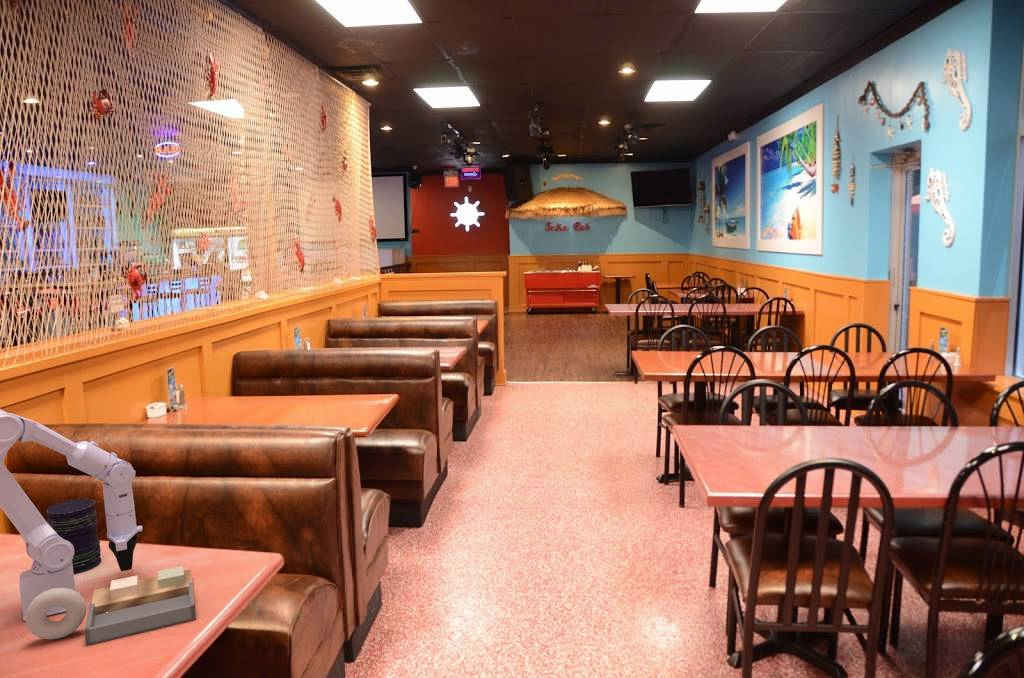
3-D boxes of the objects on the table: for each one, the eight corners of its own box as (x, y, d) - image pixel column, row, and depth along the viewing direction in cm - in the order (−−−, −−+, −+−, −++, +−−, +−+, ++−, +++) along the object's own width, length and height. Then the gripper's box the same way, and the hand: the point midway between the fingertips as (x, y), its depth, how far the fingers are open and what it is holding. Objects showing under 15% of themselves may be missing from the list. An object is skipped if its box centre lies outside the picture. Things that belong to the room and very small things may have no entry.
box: (86, 645, 134) (84, 630, 134) (91, 617, 145) (89, 604, 144) (196, 619, 142) (194, 605, 142) (193, 595, 153) (192, 581, 152)
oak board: (91, 617, 145) (90, 607, 145) (95, 598, 153) (94, 589, 153) (193, 594, 153) (192, 585, 153) (191, 577, 161) (190, 569, 161)
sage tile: (159, 588, 152) (158, 580, 152) (158, 579, 156) (158, 570, 156) (184, 583, 154) (183, 574, 154) (183, 574, 158) (183, 565, 158)
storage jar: (49, 579, 163) (42, 516, 161) (57, 562, 172) (50, 503, 170) (99, 570, 167) (92, 508, 165) (104, 554, 176) (97, 495, 174)
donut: (27, 649, 134) (20, 599, 132) (29, 640, 137) (23, 591, 135) (88, 635, 138) (82, 586, 137) (89, 626, 141) (84, 579, 140)
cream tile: (110, 599, 148) (109, 590, 148) (112, 589, 152) (111, 580, 152) (137, 593, 150) (136, 584, 150) (138, 583, 155) (137, 575, 154)
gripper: (139, 518, 154) (145, 578, 155) (140, 498, 167) (146, 553, 168) (102, 525, 151) (109, 585, 152) (106, 504, 164) (112, 560, 165)
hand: (126, 569), depth 160 cm, fingers closed
